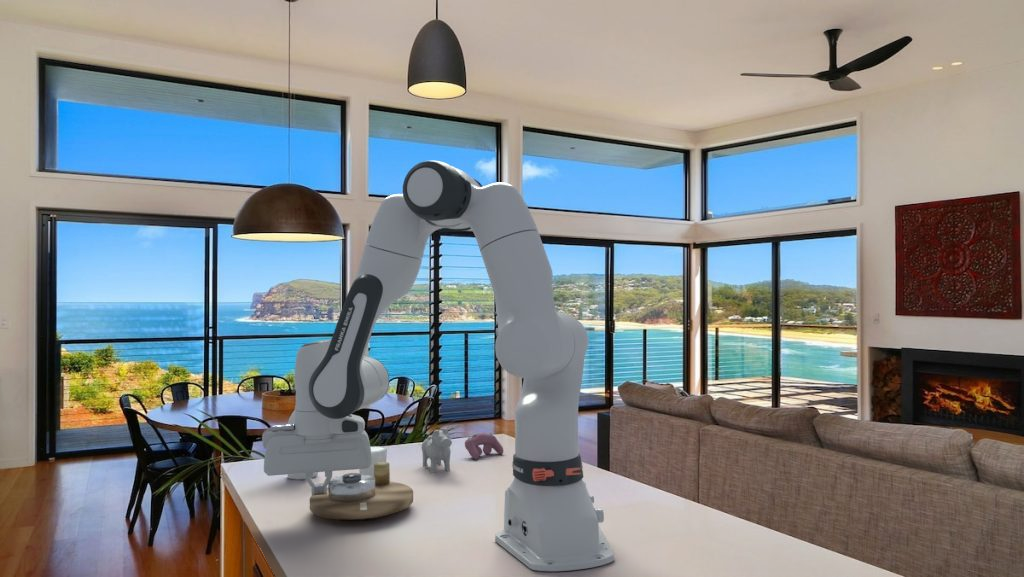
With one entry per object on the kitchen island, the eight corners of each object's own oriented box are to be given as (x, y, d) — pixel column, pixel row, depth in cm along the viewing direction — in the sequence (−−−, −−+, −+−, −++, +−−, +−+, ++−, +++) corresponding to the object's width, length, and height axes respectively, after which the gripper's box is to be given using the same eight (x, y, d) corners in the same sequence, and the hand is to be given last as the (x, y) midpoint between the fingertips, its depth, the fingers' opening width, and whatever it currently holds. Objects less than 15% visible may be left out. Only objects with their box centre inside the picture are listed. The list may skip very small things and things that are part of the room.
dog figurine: (436, 477, 156) (436, 432, 157) (419, 465, 168) (418, 423, 168) (457, 474, 159) (457, 429, 159) (438, 462, 170) (438, 421, 170)
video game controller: (496, 458, 181) (489, 433, 184) (506, 452, 178) (498, 427, 180) (467, 464, 175) (460, 438, 177) (476, 459, 172) (468, 433, 174)
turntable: (418, 513, 125) (418, 483, 125) (306, 524, 120) (306, 492, 120) (408, 485, 144) (408, 459, 144) (312, 493, 139) (311, 466, 139)
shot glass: (380, 483, 152) (380, 452, 152) (352, 482, 153) (352, 451, 153) (391, 475, 159) (391, 445, 159) (365, 474, 160) (364, 445, 160)
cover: (376, 500, 128) (375, 479, 128) (327, 504, 126) (327, 483, 126) (374, 487, 137) (374, 468, 137) (329, 491, 135) (328, 471, 135)
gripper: (260, 429, 124) (260, 503, 124) (372, 422, 129) (372, 494, 129) (263, 423, 130) (264, 494, 130) (370, 417, 136) (371, 485, 135)
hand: (319, 494), depth 130 cm, fingers closed
